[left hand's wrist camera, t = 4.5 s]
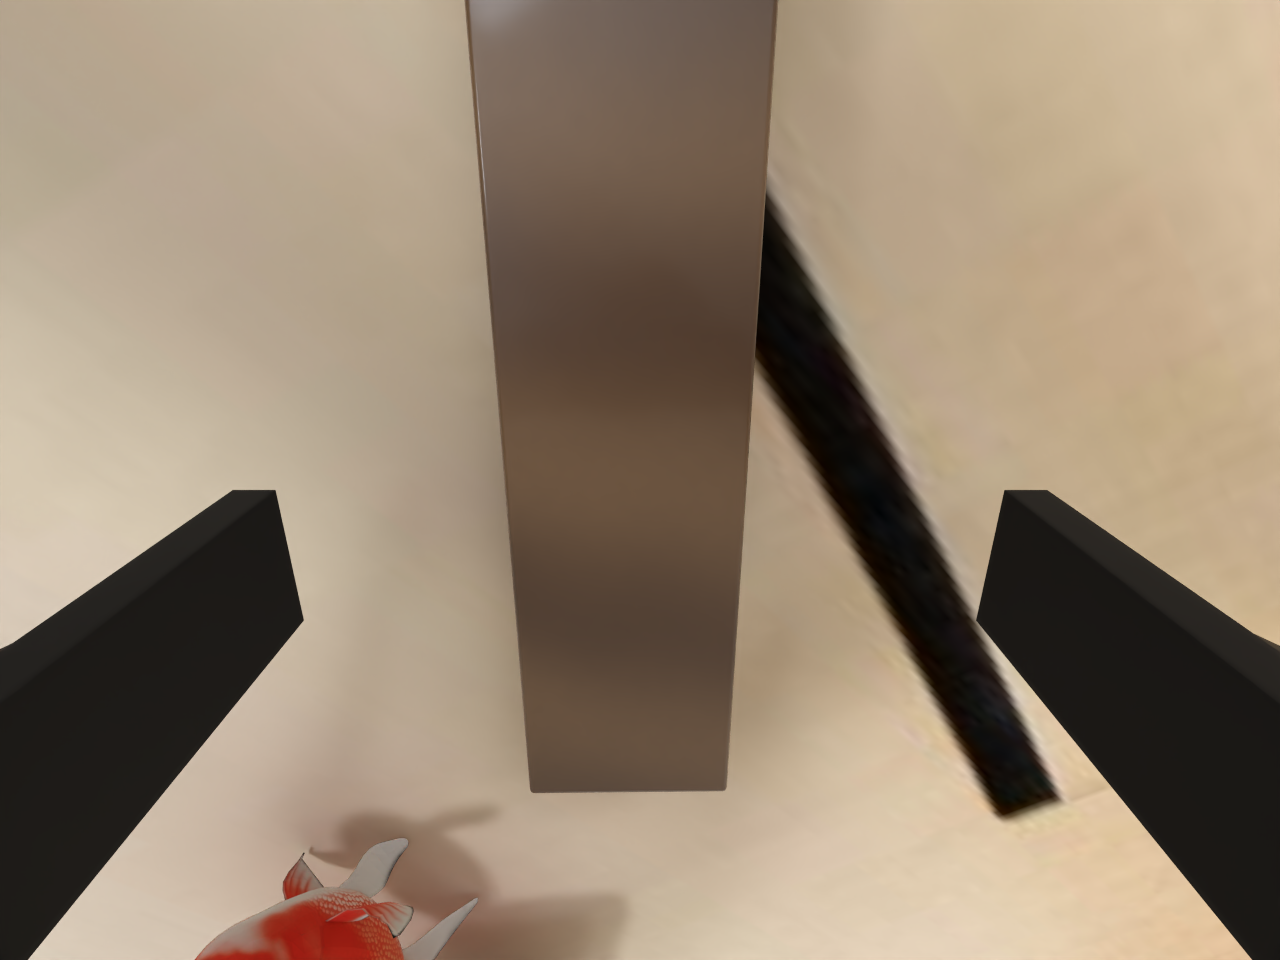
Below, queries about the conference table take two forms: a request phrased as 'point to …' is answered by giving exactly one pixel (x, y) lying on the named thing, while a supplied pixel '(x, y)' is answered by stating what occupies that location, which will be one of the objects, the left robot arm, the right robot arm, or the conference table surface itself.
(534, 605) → the bar
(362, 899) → the fish
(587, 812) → the conference table surface
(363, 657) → the conference table surface
